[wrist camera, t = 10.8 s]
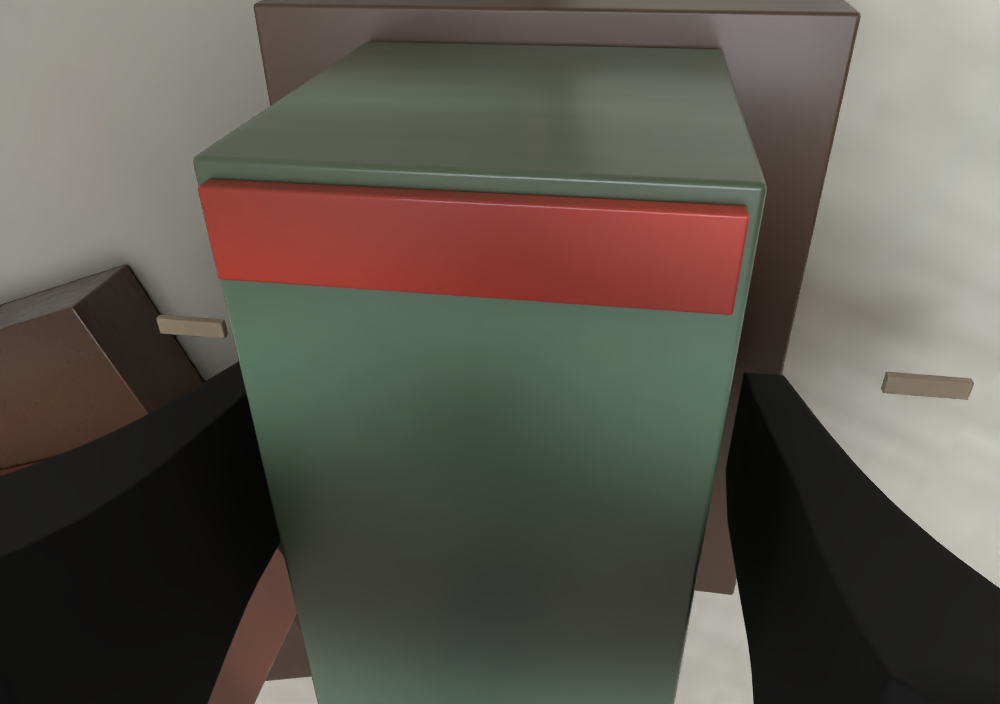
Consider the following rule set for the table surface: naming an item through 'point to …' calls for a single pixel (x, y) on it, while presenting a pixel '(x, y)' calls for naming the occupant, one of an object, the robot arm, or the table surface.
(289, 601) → the orange rectangular box
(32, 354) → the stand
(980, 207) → the table surface
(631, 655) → the green and red block
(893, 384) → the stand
